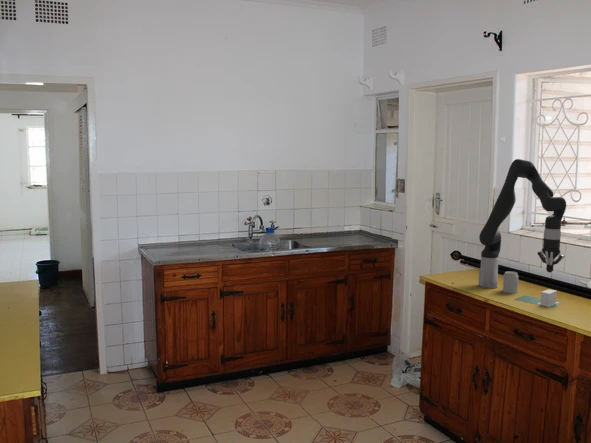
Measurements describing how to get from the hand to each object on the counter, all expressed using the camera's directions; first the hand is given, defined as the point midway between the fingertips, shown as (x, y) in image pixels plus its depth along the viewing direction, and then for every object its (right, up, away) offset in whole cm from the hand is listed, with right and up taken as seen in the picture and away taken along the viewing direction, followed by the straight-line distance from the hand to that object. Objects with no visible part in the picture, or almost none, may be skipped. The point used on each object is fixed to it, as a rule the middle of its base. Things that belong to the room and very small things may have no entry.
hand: (549, 272), depth 274 cm
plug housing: (0, -16, +2) cm, 16 cm away
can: (-10, -14, +26) cm, 31 cm away
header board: (-3, -17, +6) cm, 18 cm away
